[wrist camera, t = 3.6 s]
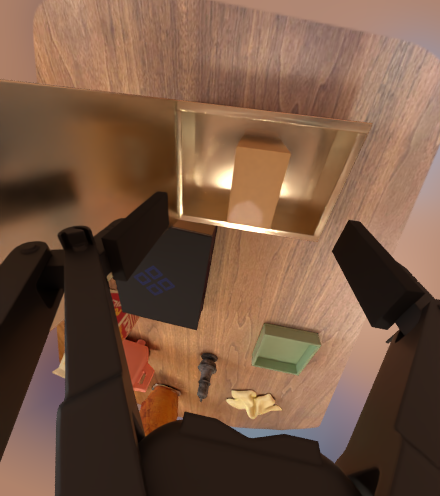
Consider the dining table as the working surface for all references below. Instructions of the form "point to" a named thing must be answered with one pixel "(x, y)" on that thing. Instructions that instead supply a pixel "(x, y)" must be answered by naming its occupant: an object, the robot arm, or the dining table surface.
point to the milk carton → (124, 323)
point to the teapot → (138, 363)
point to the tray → (284, 349)
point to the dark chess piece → (206, 374)
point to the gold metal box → (297, 174)
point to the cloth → (252, 403)
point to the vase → (159, 408)
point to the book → (172, 276)
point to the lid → (79, 161)
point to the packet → (257, 181)
